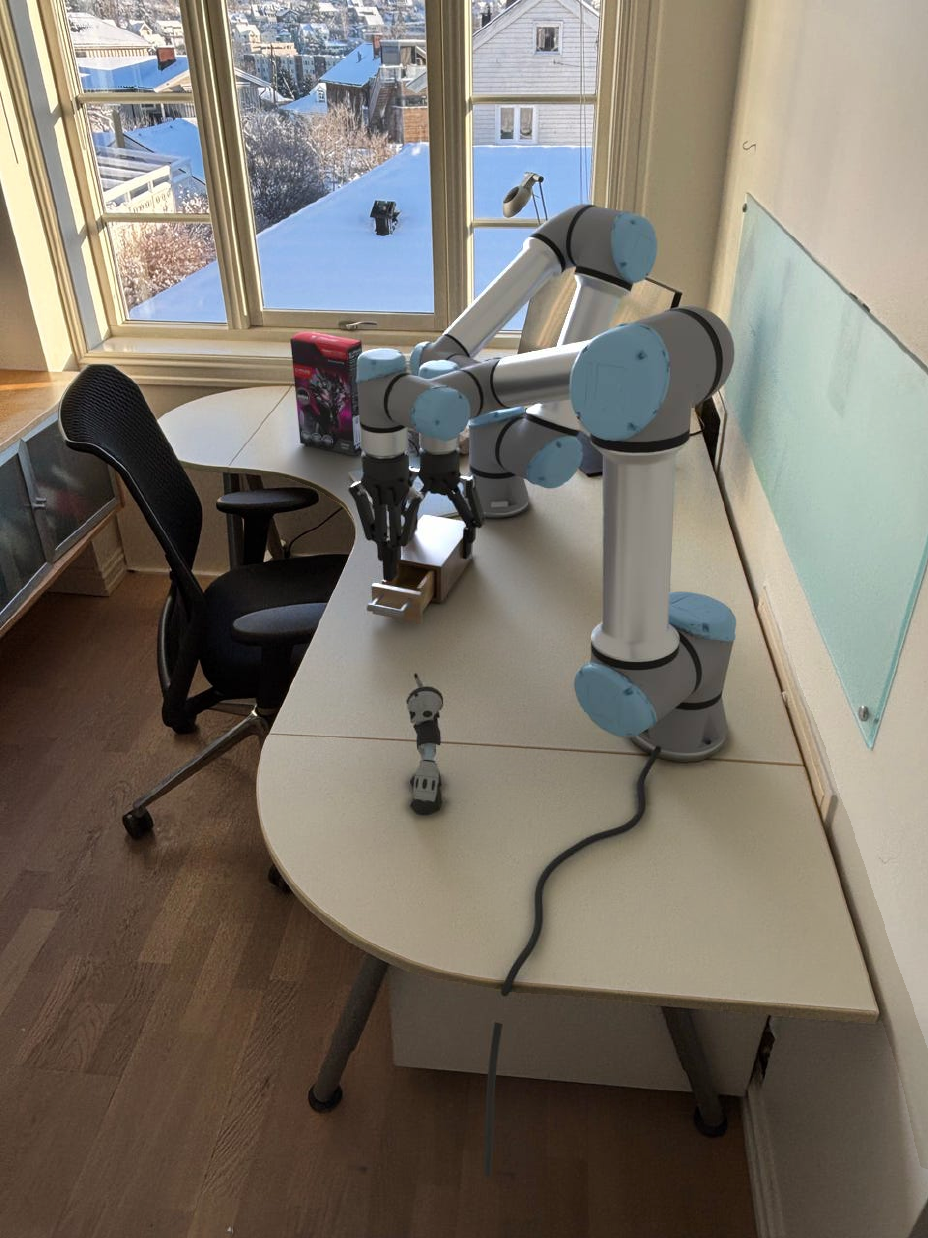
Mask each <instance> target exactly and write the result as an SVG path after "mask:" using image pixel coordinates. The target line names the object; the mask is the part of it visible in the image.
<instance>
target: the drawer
mask: <svg viewBox="0 0 928 1238" xmlns="http://www.w3.org/2000/svg"><path fill="white" fill-rule="evenodd" d="M435 593H436V570H433V569H427V568H422V567H416V566H411V565H405V564H400V563H398V564H397V575H396V576H395V578H394V579H393V580H392V582H390V581H385V580H383V579H381V583H378V582H373V583H372V585H371V603H367V605H366V611H367V612H369V613H372V614H373V615H377V616H381V617H387V618H392V619H396V620H401V621H406V622H411V623H416V624H421V623H422V621H423V618H424V617H423V615H424V614H423V612H424V610H425V609H426V607H428V604H429V603H430V602H431V601H430V600H431V599H432V597H433V596H434V595H435Z"/></svg>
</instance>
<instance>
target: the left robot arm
mask: <svg viewBox="0 0 928 1238" xmlns="http://www.w3.org/2000/svg"><path fill="white" fill-rule="evenodd" d="M657 255H658V239H657V236H656V230H655V228H654V225H653V224H652V222H650V220H649V219H647V217H645V216H642V215H639V214H636V213H633V212H631V211H628V210H619V209H614V208H608V207H604V206H603V207H602V206H597V205H595V204H589V203H582V204H576V205H573V206H570V207H568V208H565V209H563V210H562V211H559V212H558V213H556V214H554V215H553V216H552V217H550V218H549V219H548V220H546V221H545V222H543V223H542V224H541V225H539V227H538V228H537V229H535V230H534V231H533V232H532V233H531V234H530V235H529V236H528V237H527V238H526V239H525V241H524V242H523V250H522V251H521V252H520V253H519V254H518V255H517V256H516V257H515V259H514V260H512V261H511V263H510V264H509V265H508V266H507V267H506V268H505V269H504V270H503V271H501V273H500V274H499V275H498V276H497V277H496V278H495V279H494V280H493V281H492V282H491V283H490V284H489V285H488V286H487V287H486V289H484V290H483V292H482V293H481V294H480V295H479V296H478V297H477V298H476V299H475V300H474V301H473V302H472V303H471V304H470V305H469V306H468V307H467V308H466V309H465V310H464V311H463V313H462V314H461V315H459V317H458V318H457V319H456V320H455V321H454V322H453V323H452V324H451V325H450V326H449V327H448V328H447V329H446V330H444V332H443V333H442V334H441V336H439V337H438V338H437V340H436V341H435V342H432V341H423V342H420V343H417V344H416V345H415V347H414V348H413V349H412V350H411V352H410V356H409V360H408V365H409V370H410V373H411V374H412V375H415V376H418V377H421V378H424V379H432V378H435V377H438V376H441V375H445V374H448V373H451V372H454V371H457V370H461V369H464V368H467V367H470V366H473V365H476V364H479V363H482V362H483V361H480V360H479V361H478V360H477V359H475V358H476V357H477V355H479V353H480V352H481V351H482V350H483V349H484V348H485V347H486V346H487V345H488V344H489V343H490V342H491V341H492V340H493V339H494V338H495V337H496V336H497V335H498V334H499V333H500V332H501V330H502V329H503V328H504V327H505V326H506V325H507V324H508V323H509V322H510V321H511V320H512V319H513V318H514V317H515V316H516V315H517V314H518V313H519V311H521V309H523V307H524V306H525V305H526V304H528V302H529V301H530V300H531V299H532V298H533V296H535V295H536V293H538V292H539V291H540V289H541V288H543V286H544V285H546V283H547V282H548V281H549V280H550V279H552V280H555V279H558V278H559V277H560V276H561V275H563V273H564V272H565V271H567V270H568V269H571V268H575V269H574V272H573V277H574V279H575V282H576V286H577V287H576V290H575V293H574V296H573V297H572V298H573V299H572V301H571V303H570V307H569V310H568V314H567V316H566V318H565V321H564V325H563V327H562V330H561V333H560V336H559V339H558V341H557V345H556V347H559V346H564V345H569V344H573V343H578V342H583V341H588V340H592V339H593V338H595V337H596V336H598V335H600V334H602V333H604V332H606V331H607V330H609V329H610V328H611V324H612V321H613V318H614V317H615V316H614V315H615V313H616V310H617V308H618V305H619V303H620V301H621V299H623V298H625V297H627V296H629V295H630V294H631V293H632V292H631V291H632V289H633V286H634V284H637V283H641V282H642V281H644V280H645V279H646V278H647V277H648V276H649V275H650V274H651V272H652V271H653V268H654V266H655V263H656V259H657ZM578 416H579V415H578V414H575V412H574V410H573V407H572V403H571V400H565V401H558V402H551V403H544V404H537V405H532V406H531V407H529V408H528V407H525V406H522V407H515V408H511V409H505V410H498V411H493V412H490V413H487V414H484V415H481V416H478V417H476V418H473V419H471V420H469V423H468V429H469V453H468V473H467V475H466V476H464V475H462V473H461V469H460V467H461V453H460V449H459V445H460V434H459V436H458V437H457V438H455V439H453V440H450V441H441V440H438V439H435V438H431V437H426V436H423V435H422V434H420V433H419V439H418V445H419V447H420V448H419V450H418V451H419V469H418V468H415V467H414V466H412V465H409V478H410V481H411V483H412V487H413V486H414V482H415V480H416V479H417V478H419V480H420V482H421V483H422V484H423V486H422V487H421V488H420V489H419V492H424V493H425V495H426V496H427V495H428V493H430V494H431V495H439V496H440V495H441V496H443V497H447V498H448V501H451V502H452V505H453V506H454V508H455V510H456V511H457V513H458V514H459V517H460V518H461V521H464V523H465V525H466V526H465V527H464V529H463V559H467V558H468V556H469V555H470V554H471V543H473V544H474V542H475V541H476V539H477V529H481V528H482V527H483V526H484V524H485V523H486V518H487V519H505V518H510V517H514V516H518V515H520V514H521V513H523V512H524V511H526V510H527V508H528V507H529V499H530V498H529V491H528V488H527V484H526V482H525V480H526V481H527V482H529V483H530V484H531V485H535V486H539V487H542V488H545V489H550V490H551V489H556V488H559V487H562V486H563V485H564V484H565V483H567V482H569V481H570V480H571V479H572V478H573V477H574V476H575V474H576V473H577V471H578V470H579V468H580V466H581V464H582V460H583V456H584V451H583V445H582V443H581V441H580V440H579V438H578V437H579V434H580V431H581V426H580V423H579V422H578ZM459 484H462V489H461V488H460V487H459V486H458V485H459ZM408 498H409V496H408V494H407V495H406V496H405V497H404V498H403V500H402V505H401V517H403V518H404V519H405V518H406V513H407V509H408V507H407V504H408ZM418 516H419V515H418V514H417V518H416V523H415V525H416V524H417V522H418V521H419V519H418V518H419V517H418Z"/></svg>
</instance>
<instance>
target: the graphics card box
mask: <svg viewBox="0 0 928 1238" xmlns="http://www.w3.org/2000/svg"><path fill="white" fill-rule="evenodd" d="M289 340H290V341H289V342H290V350H291V359H292V360H291V361H292V371H293V378H294V379H293V380H294V390H295V401H296V402H295V403H296V411H297V423H298V424H297V425H298V433H299V443H300V444H302V445H304V446H305V445H306V446H310V447H315V448H320V449H324V450H328V451H332V452H336V453H341V454H346V455H351V456H356V455H357V454H359V453H362V451H363V450H362V449H361V440H360V420H359V405H358V391H357V383H356V380H357V359H358V357H359V356H360V355H361V354H362V353H363V342H362V340H361V339H354V338H353V339H352V338H347V337H341V336H336V335H330V334H325V333H320V332H315V331H309V330H303V331H300V332H298V333H295V335H293V336H292V337H291V338H290V339H289Z"/></svg>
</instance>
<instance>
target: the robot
mask: <svg viewBox="0 0 928 1238" xmlns="http://www.w3.org/2000/svg"><path fill="white" fill-rule="evenodd" d="M413 677H414V680H415V682H416V685H417V687H416V688H415V689H413V690H412V691H411V692H410V693H408V695H407V697H406V699H405V702H406V705H407V706H406V709H407V710H408V712H409V723H410V724H411V725H412V727H413V729H414V733H416V750H417V751H418V753H419V755H420V761H419V764H418V767H417V768H416V771H415V773H414V774H413V775H412V777H411V778H410V781H409V783H410V785H411V787H412V789H413V790H412V791H413V792H412V793H413V798H412V800H411V802H410V805H409V807H410V808H411V810H413V811H414V812H415V813H416V814H419V815H423V816H424V815H431V814H432V813H435V812H437V811H439V810H440V809H441V806H442V803H443V798H442V796H443V795H442V792H441V789H440V787H441V786H442V777H441V773H440V770H439V766H438V763H437V762H436V760H435V757H436V755H437V746H441V743H442V737H441V730H440V726H439V719H440V718H441V716H440V711H441V710H442V709H443V708H444V707H443V706H444V696H443V695H442V692H441V691H439V690H438V688H435V687H433V686H431V685H424V684H423V682H422V680H421V678H420V677H419V675H418V673H414V674H413Z"/></svg>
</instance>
